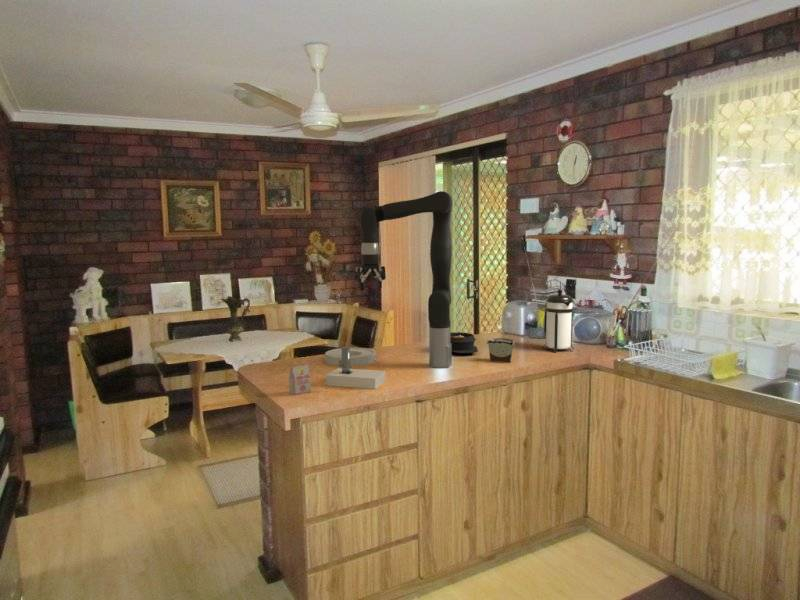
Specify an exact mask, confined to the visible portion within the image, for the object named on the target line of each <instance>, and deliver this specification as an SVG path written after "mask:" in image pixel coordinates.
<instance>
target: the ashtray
mask: <svg viewBox="0 0 800 600" xmlns="http://www.w3.org/2000/svg"><path fill="white" fill-rule="evenodd" d="M324 354H325V355H324V356H325V357H324V359H325V363H326V364H328V365H331V366H336V367H337V366H340V367H341V366H342V347H340V348H334V349H329V350H327V351H325V353H324ZM376 358H377V353H376V351H375V350H374V349H372V348H371V349H370V348H368V347H367V348H366V347H350V367H359V366H366V365H370V364H374V362H375V361H376V360H377V359H376Z"/></svg>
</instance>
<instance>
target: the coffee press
mask: <svg viewBox="0 0 800 600" xmlns="http://www.w3.org/2000/svg"><path fill="white" fill-rule="evenodd" d="M545 302H546V307H545V309H544V323H543V324H544V327H543V328H544V334H545V344H544V345H543V347H542V348H543V349H544V348H545V349H547V348H550V349H553V353H556V352H557V353H558V350H569V351H571V352H574V351H575V348H574V347H573V316H574V315H573V313H574V312H573V311H574V310H573V309H574V307H573V303H574V300H573V297H571V296H570V295H568V294H563V290H561V289H558V290H557V294H550V295H548V296H547V298H546V299H545ZM545 349H544V350H545Z"/></svg>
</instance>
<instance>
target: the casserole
mask: <svg viewBox="0 0 800 600" xmlns="http://www.w3.org/2000/svg"><path fill="white" fill-rule="evenodd" d="M476 340H477V339H476V338H475V335H474V334H473V333H470V332H460V331H459V332H458V331H457V332H450V343H451V344H452V354H455V355H457V354H458V355H459V354H464V355H465V354H474V353H477V352H479V349H478V347H477V345H475V341H476Z"/></svg>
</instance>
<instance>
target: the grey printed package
mask: <svg viewBox="0 0 800 600" xmlns="http://www.w3.org/2000/svg"><path fill="white" fill-rule="evenodd" d="M288 380H289V381H288V382H289V383H288V386H289V387H288V390H289V394H290V395H292V396H298V395H303V394H308V393H311V392H312V389H311V386H312V385H311V374H310V369H309V365H308V364H304V365H298V366H291V367H290V372H289V375H288Z"/></svg>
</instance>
